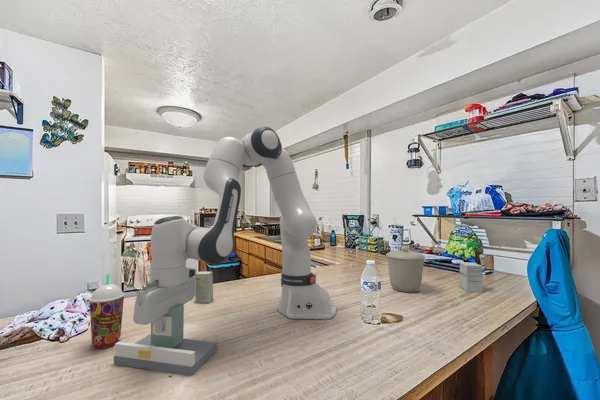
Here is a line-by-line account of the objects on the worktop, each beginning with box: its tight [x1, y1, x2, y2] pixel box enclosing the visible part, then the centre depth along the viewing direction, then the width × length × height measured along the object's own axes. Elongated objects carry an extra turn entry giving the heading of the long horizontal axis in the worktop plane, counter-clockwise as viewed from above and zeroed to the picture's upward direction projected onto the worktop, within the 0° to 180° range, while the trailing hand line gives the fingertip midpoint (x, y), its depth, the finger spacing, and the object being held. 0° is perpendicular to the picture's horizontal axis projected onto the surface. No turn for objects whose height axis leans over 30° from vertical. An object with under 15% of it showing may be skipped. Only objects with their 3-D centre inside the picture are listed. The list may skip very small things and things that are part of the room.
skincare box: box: [194, 271, 214, 304], centre depth 115 cm, size 6×4×12 cm
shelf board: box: [113, 334, 218, 377], centre depth 72 cm, size 22×12×5 cm, turn 78°
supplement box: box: [459, 261, 484, 293], centre depth 132 cm, size 7×7×13 cm
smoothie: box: [89, 274, 125, 349], centre depth 79 cm, size 8×8×20 cm
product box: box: [150, 304, 185, 348], centre depth 74 cm, size 4×7×10 cm, turn 78°
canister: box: [385, 245, 426, 293], centre depth 133 cm, size 18×18×21 cm
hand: (167, 327), depth 74 cm, fingers closed on product box, 4 cm apart
